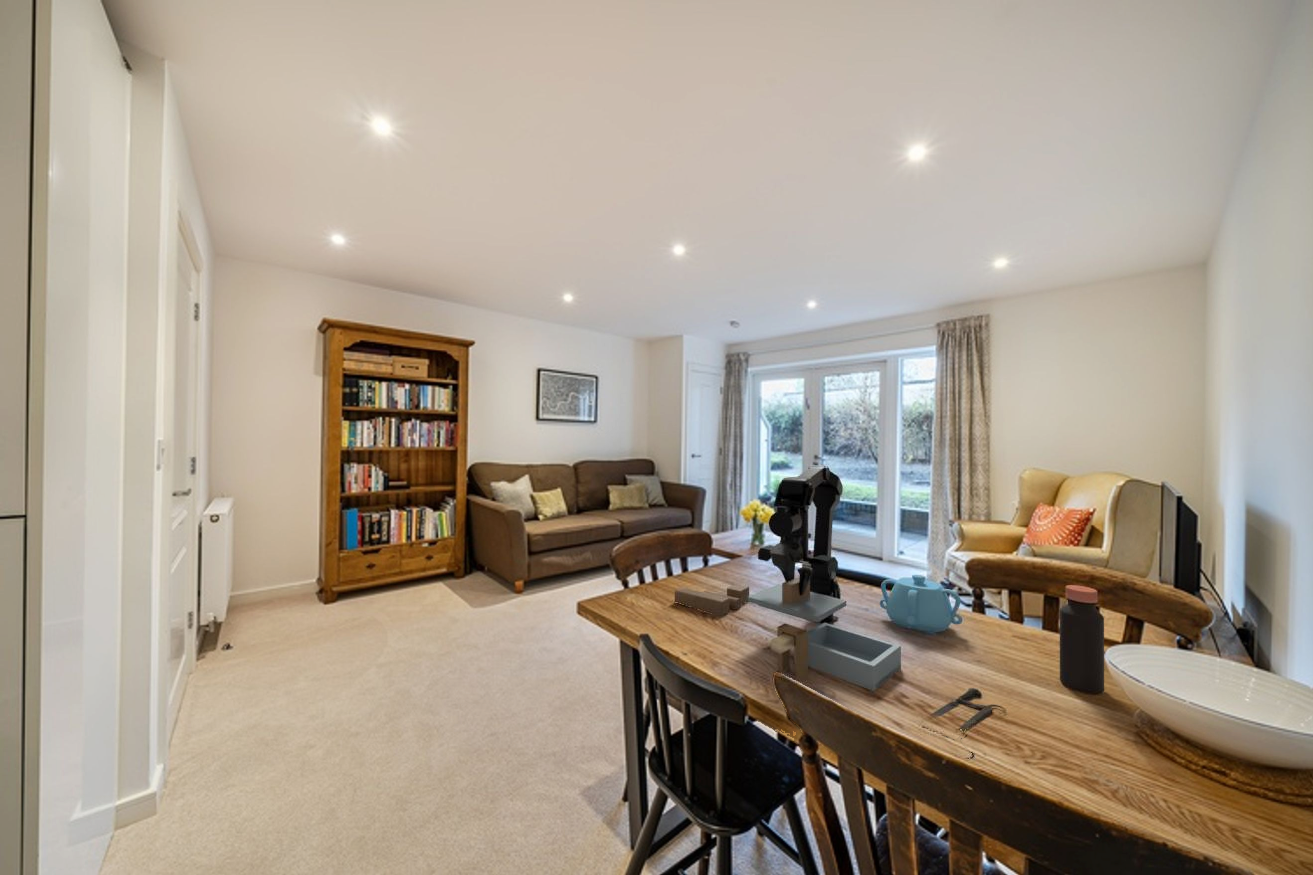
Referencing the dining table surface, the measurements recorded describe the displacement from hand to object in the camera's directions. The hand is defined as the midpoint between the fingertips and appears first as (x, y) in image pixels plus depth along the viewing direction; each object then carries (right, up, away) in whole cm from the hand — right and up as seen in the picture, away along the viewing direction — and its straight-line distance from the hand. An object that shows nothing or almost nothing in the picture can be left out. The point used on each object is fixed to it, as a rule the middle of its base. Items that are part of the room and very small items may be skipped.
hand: (796, 593), depth 116 cm
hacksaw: (+22, -13, -31) cm, 40 cm away
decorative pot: (+37, -13, +13) cm, 41 cm away
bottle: (+53, -13, -19) cm, 57 cm away
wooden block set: (-17, -14, +31) cm, 38 cm away
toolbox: (+6, -13, -12) cm, 18 cm away
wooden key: (-6, -6, -14) cm, 17 cm away
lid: (0, -3, 0) cm, 3 cm away
